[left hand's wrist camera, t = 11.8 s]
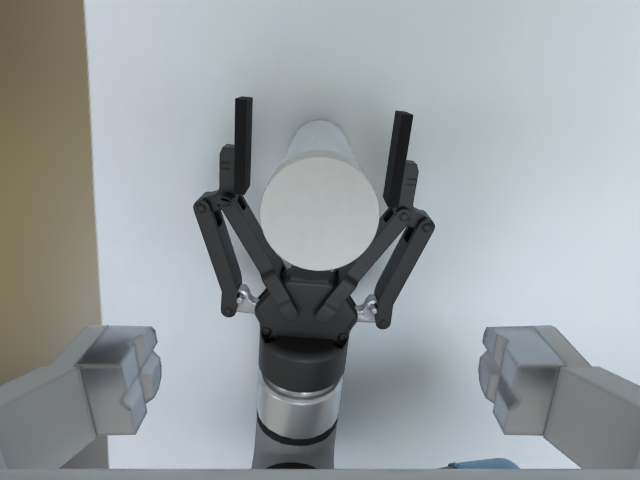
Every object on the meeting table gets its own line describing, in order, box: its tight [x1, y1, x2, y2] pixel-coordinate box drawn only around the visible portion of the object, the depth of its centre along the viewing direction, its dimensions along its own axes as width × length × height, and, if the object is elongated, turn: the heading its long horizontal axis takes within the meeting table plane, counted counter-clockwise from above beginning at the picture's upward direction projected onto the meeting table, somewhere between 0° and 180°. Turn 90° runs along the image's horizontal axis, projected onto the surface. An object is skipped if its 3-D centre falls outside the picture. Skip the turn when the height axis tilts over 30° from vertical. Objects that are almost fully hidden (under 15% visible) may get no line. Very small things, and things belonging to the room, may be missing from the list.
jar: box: [282, 120, 357, 164], centre depth 29 cm, size 5×5×18 cm
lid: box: [260, 150, 380, 271], centre depth 21 cm, size 6×6×2 cm
